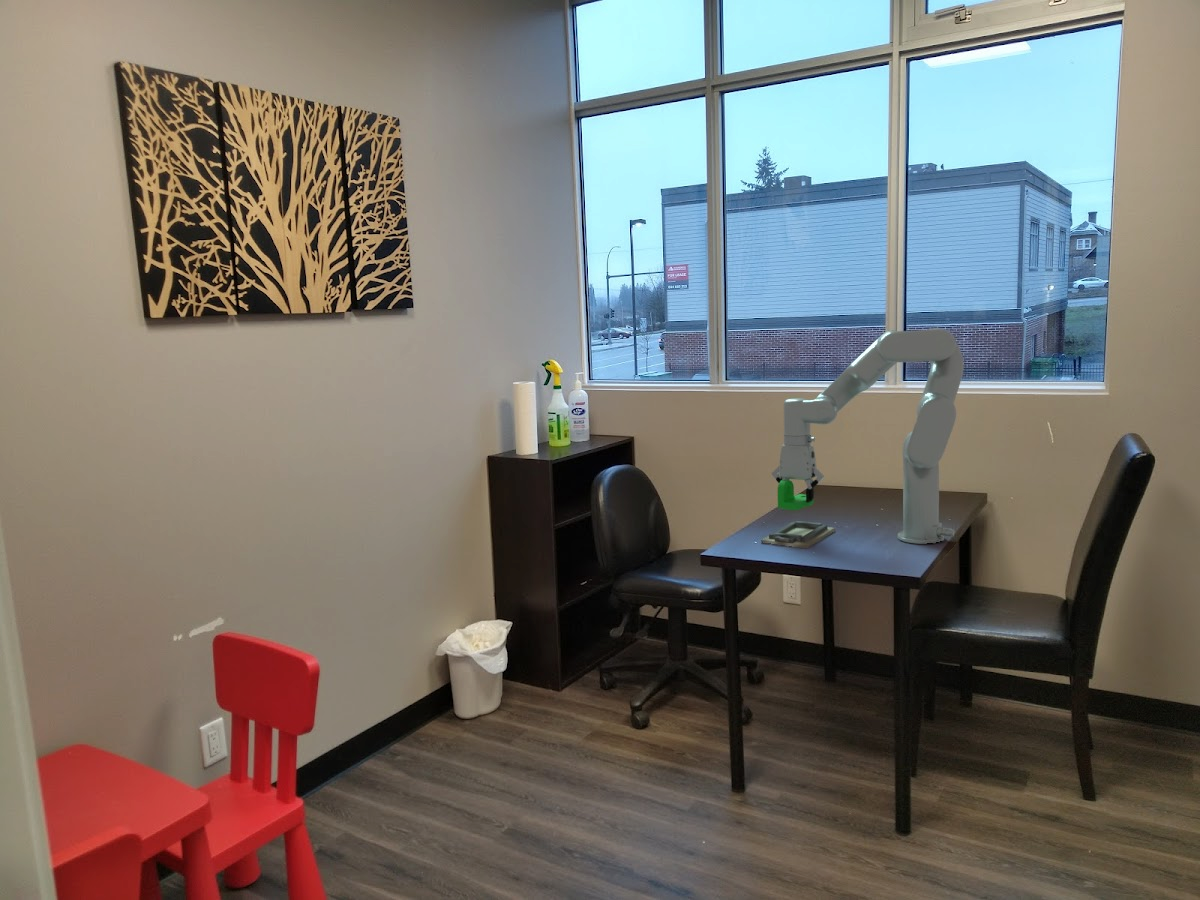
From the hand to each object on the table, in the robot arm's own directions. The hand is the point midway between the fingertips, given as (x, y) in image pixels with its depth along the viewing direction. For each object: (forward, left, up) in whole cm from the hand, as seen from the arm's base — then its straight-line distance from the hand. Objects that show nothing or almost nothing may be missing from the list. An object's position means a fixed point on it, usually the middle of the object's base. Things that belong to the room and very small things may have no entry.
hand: (797, 500), depth 254 cm
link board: (0, 0, -11) cm, 11 cm away
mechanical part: (0, 0, -2) cm, 2 cm away
